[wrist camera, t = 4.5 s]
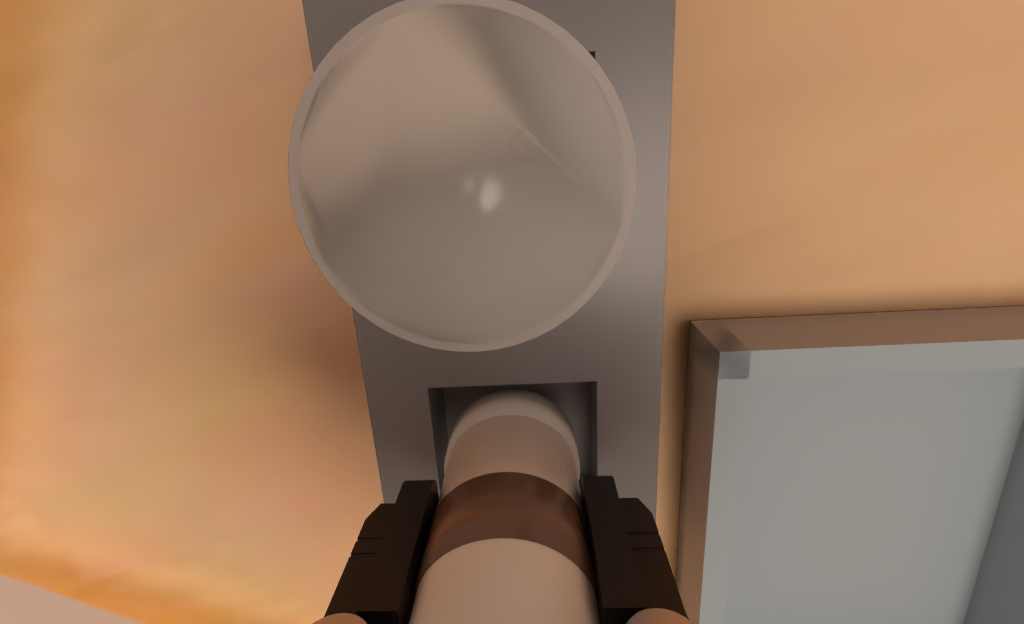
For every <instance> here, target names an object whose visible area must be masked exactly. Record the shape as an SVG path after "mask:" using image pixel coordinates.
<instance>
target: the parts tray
mask: <svg viewBox="0 0 1024 624" xmlns="http://www.w3.org/2000/svg"><path fill="white" fill-rule="evenodd" d="M676 585H677V588H678V591H679V594H680V597H681V600H682V603H683V606H684V609H685V612H686V614H687V616H688V618H689V620H690V621H691V622H692V623H693V624H1024V306H1007V307H984V308H962V309H940V310H917V311H895V312H873V313H850V314H828V315H806V316H783V317H761V318H739V319H716V320H694V321H690V337H689V355H688V373H687V390H686V408H685V426H684V444H683V462H682V480H681V498H680V516H679V534H678V551H677V569H676Z"/></svg>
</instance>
